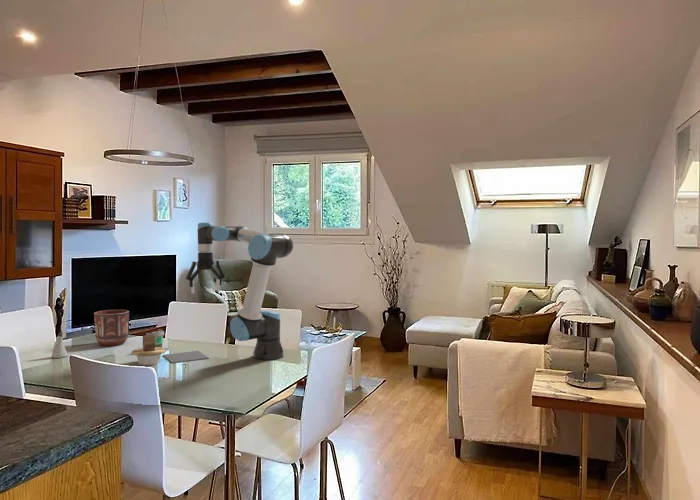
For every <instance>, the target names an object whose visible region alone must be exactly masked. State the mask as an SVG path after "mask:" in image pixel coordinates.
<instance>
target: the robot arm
mask: <svg viewBox="0 0 700 500" xmlns="http://www.w3.org/2000/svg"><path fill="white" fill-rule="evenodd" d="M196 230H197V251H198V253H197V261H191V266H190V268H189V270H188V272H187V274H186V277H185V280H187V281H189V282H188V283H189V288H190V290H191V291H190V292H191V294H194V295H195V292H196V291H195V280H194V279H195V278H196V277H197V276H198V274H199V273H200V272H201V271H202V270H203V271H205V270H206V271H207V270H208V271H209V270H210V271H211V273H212V274H214V276H215V277H216V282H215V283H216V292H217V293H218V292H221V286H222V280H223V279H224V278H225V277H226V276H225V274H224V272H223V270H222V268H221V266H220V261H219V260H214V258H213V257H214V255H213V254H214V253H213V251H214V248H213V247H214V246H213V245H214V244H213V241H214V242H229V241H233V242H239V243H244V244H247V245H248V246H247V251H248V255H249V257H250V261H251V262H252V266H251V271H250V276H249V280H248V284H247V288H246V292H245V297H244V301H243V305H242V308H240V309H239V310H238V312H237V316H235V317H233V318H232V319H231V320H230V322H229V329H230V332H231V334H232V337H233V338H234V339H235V340H236V341H239V342H246V341H250V340H255V339H256V344H255V346H254V350H253V356H252V357H253V358H254V359H257V360H261V361H262V360H263V361H264V360H266V361H267V360H268V361H269V360H270V361H271V360H278V359H281V358H283V357H284V354H285V353H284V349H283V346H282V342H281V315H280V312H278V311H273V310H262V306H263V301H264V296H265V294H266V289H267V286H268V281H269V277H270V274H271V273H270V272H271V269H272V267H274V266H275V265H276V262H277V259H283V258H286V257H288V256H289V255H291V253H292V252H293V250H294V243H293V239H292V238H291V237H290V236H289V235H287V234H284V233H279V232H277V233H268V232H263V231H259V230H255V229H250V228H247V227H246V226H242V225H239V226H235V225H233V226H230V225H229V226H226V225H215V226H214V225H213V223H212V222H199V223H197V229H196ZM213 265H214V266H215V267H216V269H215V268H214V266H213ZM196 266H198V267H197V268H196ZM195 268H196V270H195ZM194 270H195V271H194ZM216 270H217V271H216Z"/></svg>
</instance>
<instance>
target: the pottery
mask: <svg viewBox="0 0 700 500" xmlns="http://www.w3.org/2000/svg"><path fill="white" fill-rule="evenodd" d="M93 318H94V319H93V320H94V330H95V331H94V332H95V335H94V336H95V340H96V342H97V343H98V344H99V345H100V346H102V347H117V346H122V345H123V344H125V343H126V341H127V340H128V338H129V320H130V319H129V318H130V311H129V310H128V309H127V310H126V309H106V310H99V311H95V312H94V313H93Z"/></svg>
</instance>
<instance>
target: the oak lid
mask: <svg viewBox="0 0 700 500" xmlns="http://www.w3.org/2000/svg"><path fill="white" fill-rule="evenodd" d="M164 353H166V348H165V347H163V346H162V347H155V336H154V335H146V334H144V335H142V347H141V348H140V347H139V348H135V349H132V351H131V355H133V356H136V357H137V356H153V355H159V354H161V355H164Z"/></svg>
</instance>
